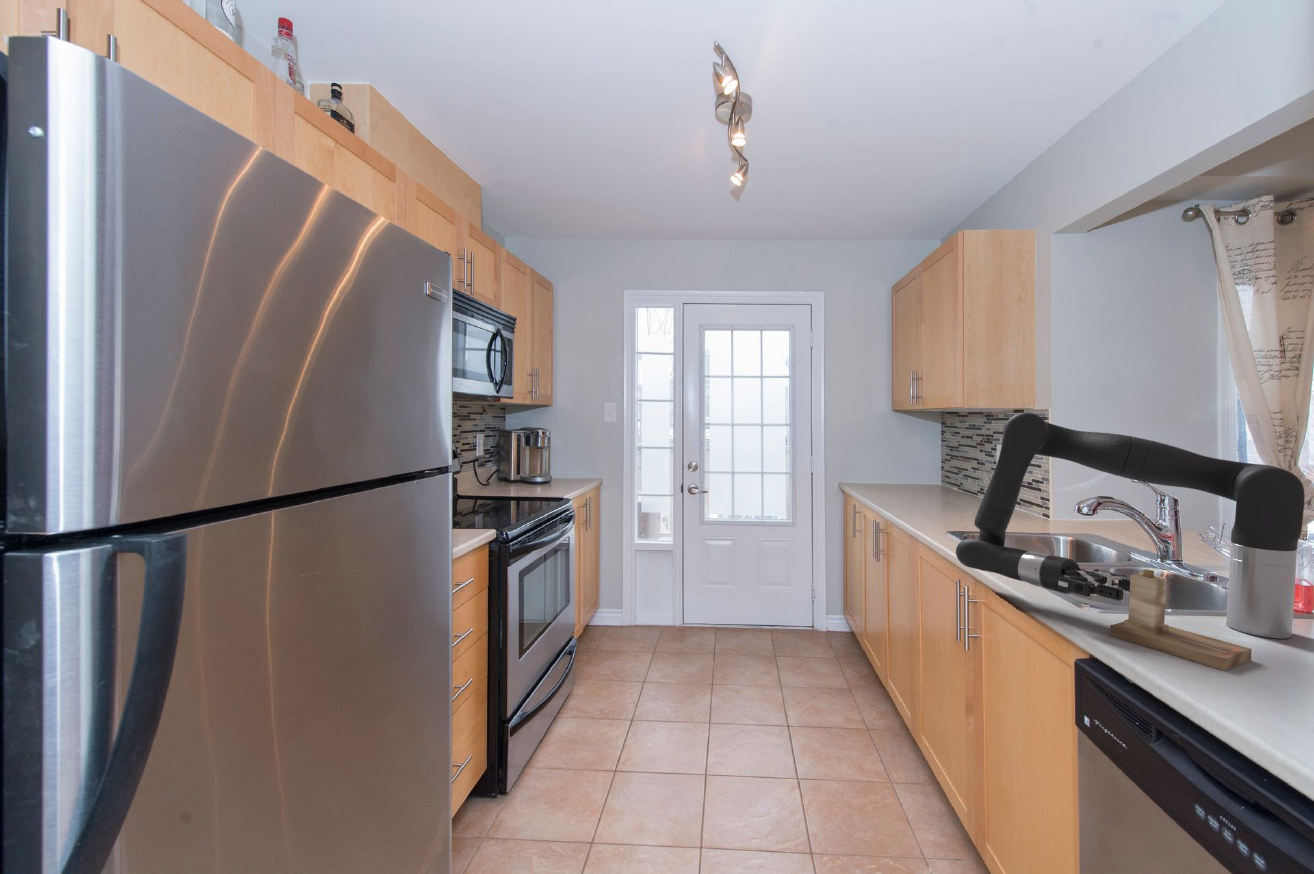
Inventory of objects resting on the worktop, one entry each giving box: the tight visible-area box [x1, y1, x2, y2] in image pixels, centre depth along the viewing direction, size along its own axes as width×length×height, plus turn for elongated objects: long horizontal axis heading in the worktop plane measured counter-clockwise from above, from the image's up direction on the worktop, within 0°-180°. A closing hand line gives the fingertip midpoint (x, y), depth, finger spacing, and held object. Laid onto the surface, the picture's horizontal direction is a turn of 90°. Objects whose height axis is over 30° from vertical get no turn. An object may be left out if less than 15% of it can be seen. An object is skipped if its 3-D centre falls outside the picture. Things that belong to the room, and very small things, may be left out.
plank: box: [1109, 621, 1252, 671], centre depth 109 cm, size 10×17×2 cm, turn 26°
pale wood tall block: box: [1123, 568, 1170, 636], centre depth 112 cm, size 5×6×11 cm
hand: (1134, 592), depth 114 cm, fingers open, 8 cm apart
